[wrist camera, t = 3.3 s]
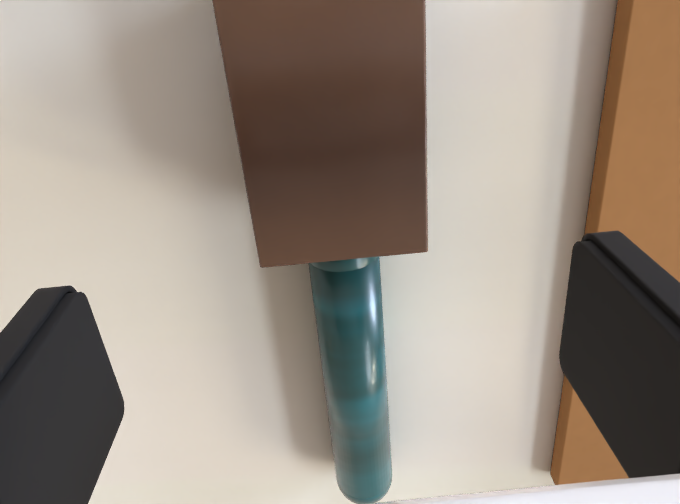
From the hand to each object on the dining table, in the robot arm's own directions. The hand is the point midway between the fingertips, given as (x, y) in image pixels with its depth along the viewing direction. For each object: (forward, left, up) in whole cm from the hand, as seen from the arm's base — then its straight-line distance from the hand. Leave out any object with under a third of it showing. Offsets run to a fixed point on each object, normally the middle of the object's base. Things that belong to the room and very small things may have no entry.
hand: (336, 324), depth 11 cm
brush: (+3, 0, -7) cm, 8 cm away
